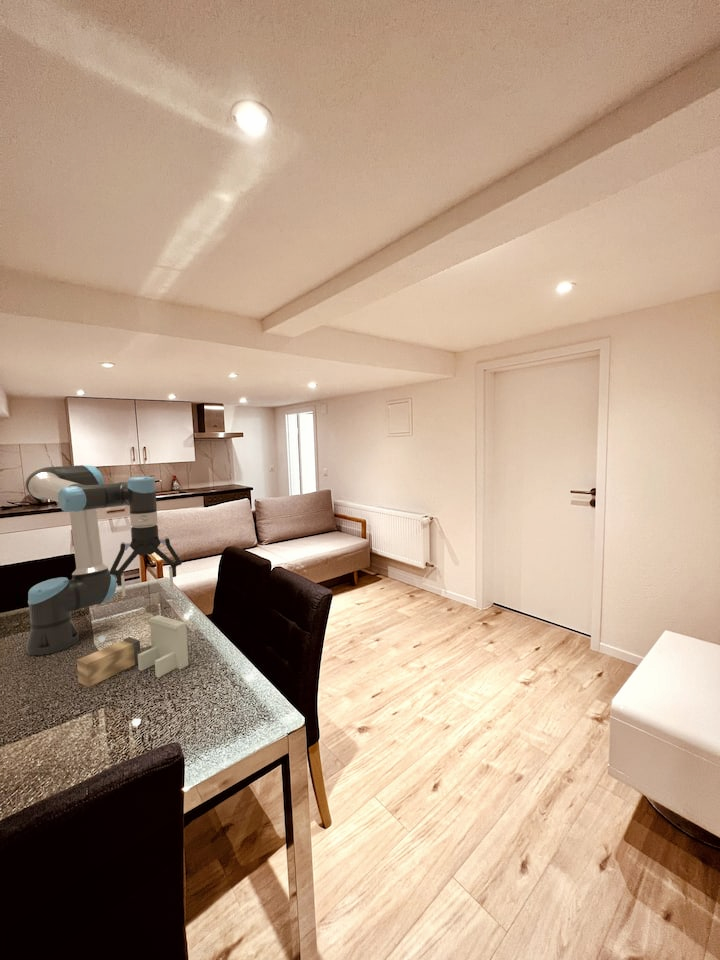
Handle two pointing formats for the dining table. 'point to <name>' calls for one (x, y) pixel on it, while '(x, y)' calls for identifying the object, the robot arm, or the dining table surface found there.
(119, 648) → the tan and grey block
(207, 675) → the dining table surface
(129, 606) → the dining table surface
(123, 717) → the dining table surface
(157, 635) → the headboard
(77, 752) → the dining table surface
